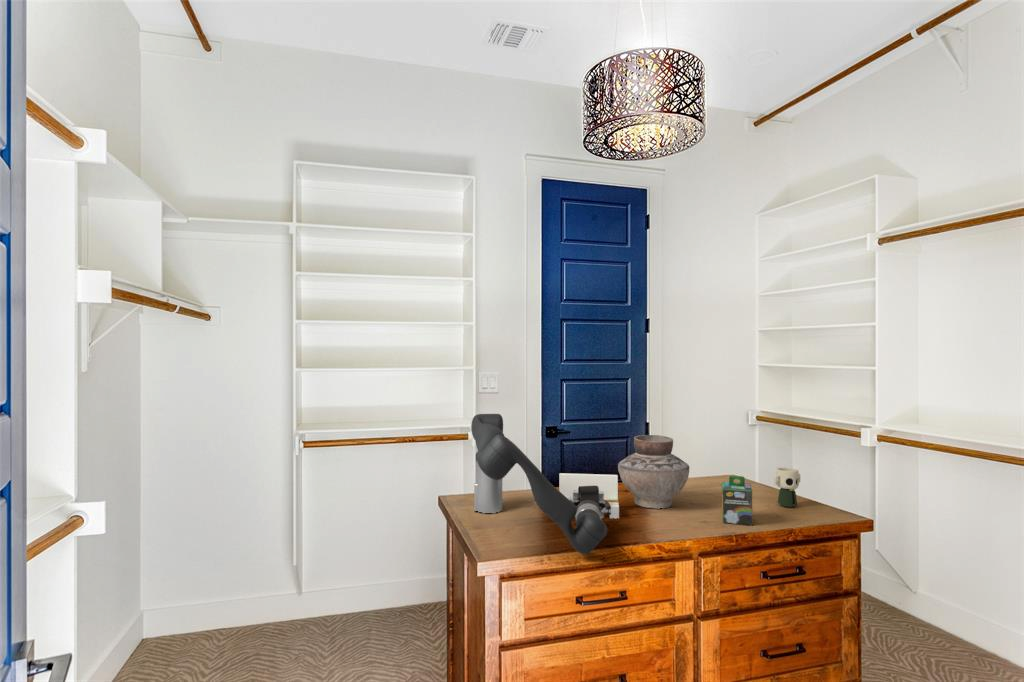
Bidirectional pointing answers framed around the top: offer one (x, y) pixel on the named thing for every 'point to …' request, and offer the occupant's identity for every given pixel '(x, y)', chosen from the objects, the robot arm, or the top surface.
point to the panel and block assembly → (602, 481)
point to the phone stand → (588, 493)
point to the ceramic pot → (653, 472)
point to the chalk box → (737, 501)
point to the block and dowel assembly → (601, 497)
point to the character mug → (787, 485)
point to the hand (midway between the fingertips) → (588, 501)
